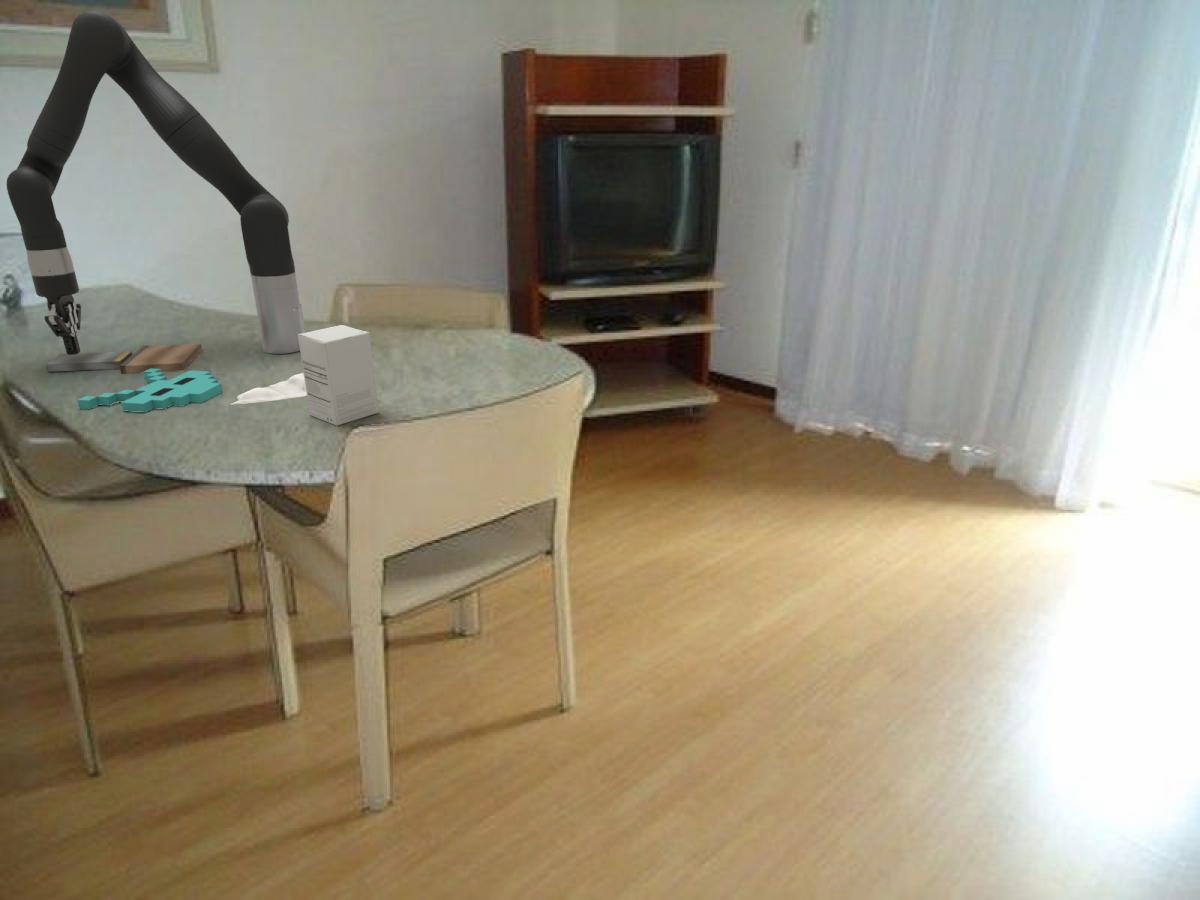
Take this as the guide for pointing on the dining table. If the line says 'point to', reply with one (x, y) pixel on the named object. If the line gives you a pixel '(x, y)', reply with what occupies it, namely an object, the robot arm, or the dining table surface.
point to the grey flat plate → (88, 361)
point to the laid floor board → (161, 358)
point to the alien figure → (160, 392)
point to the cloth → (275, 391)
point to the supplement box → (338, 374)
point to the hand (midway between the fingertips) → (74, 353)
